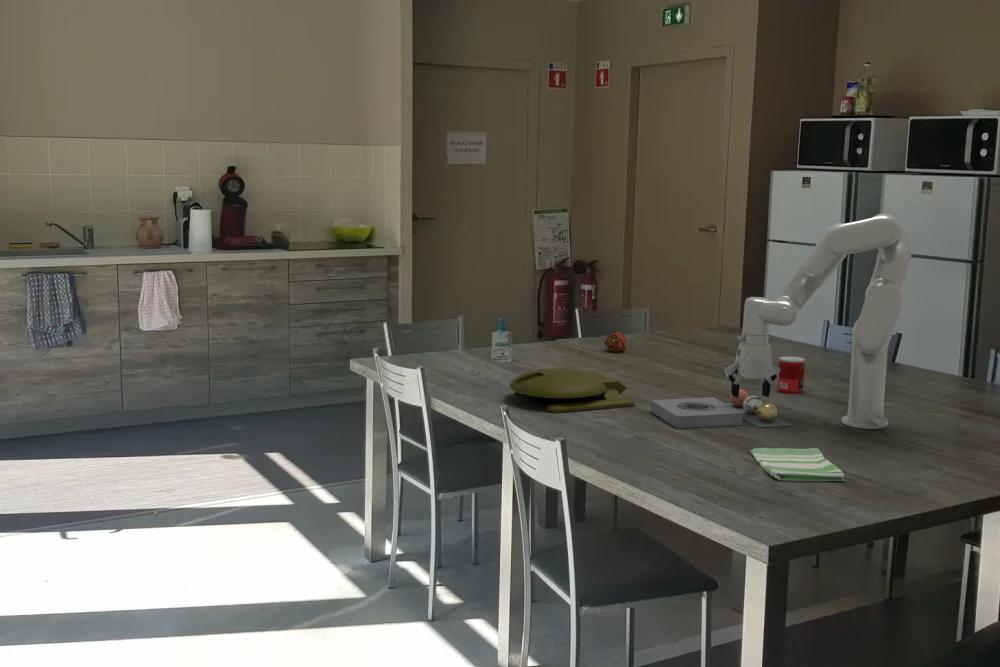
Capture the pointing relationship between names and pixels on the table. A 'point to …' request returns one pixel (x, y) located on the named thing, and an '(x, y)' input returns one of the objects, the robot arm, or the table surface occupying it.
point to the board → (696, 412)
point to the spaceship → (571, 388)
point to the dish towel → (797, 464)
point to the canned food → (791, 374)
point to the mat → (757, 421)
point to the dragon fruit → (616, 342)
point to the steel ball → (752, 404)
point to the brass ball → (767, 412)
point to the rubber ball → (739, 398)
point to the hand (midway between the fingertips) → (750, 396)
